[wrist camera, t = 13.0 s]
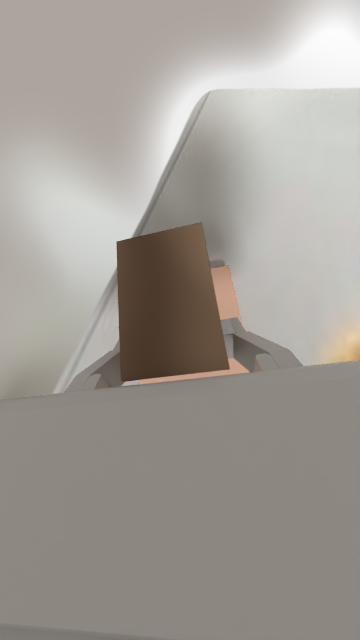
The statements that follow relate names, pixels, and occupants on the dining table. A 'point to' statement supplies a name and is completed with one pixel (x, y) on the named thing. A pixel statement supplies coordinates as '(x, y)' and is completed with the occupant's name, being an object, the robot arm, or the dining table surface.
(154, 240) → the card box
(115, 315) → the dining table surface
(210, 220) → the dining table surface
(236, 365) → the mat
